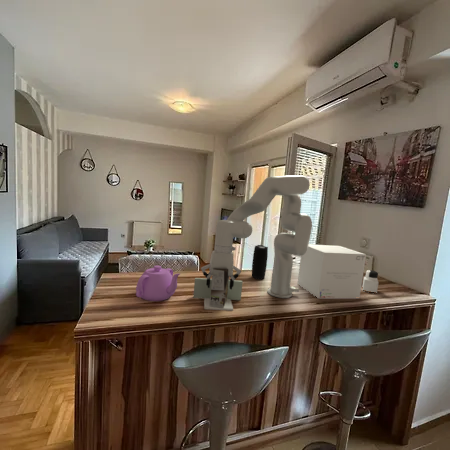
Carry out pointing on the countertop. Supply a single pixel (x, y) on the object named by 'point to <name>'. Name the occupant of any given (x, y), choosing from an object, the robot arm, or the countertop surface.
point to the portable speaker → (259, 261)
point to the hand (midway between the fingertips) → (219, 287)
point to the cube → (331, 271)
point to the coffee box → (219, 287)
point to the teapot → (156, 284)
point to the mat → (227, 307)
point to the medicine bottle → (370, 281)
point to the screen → (205, 292)
